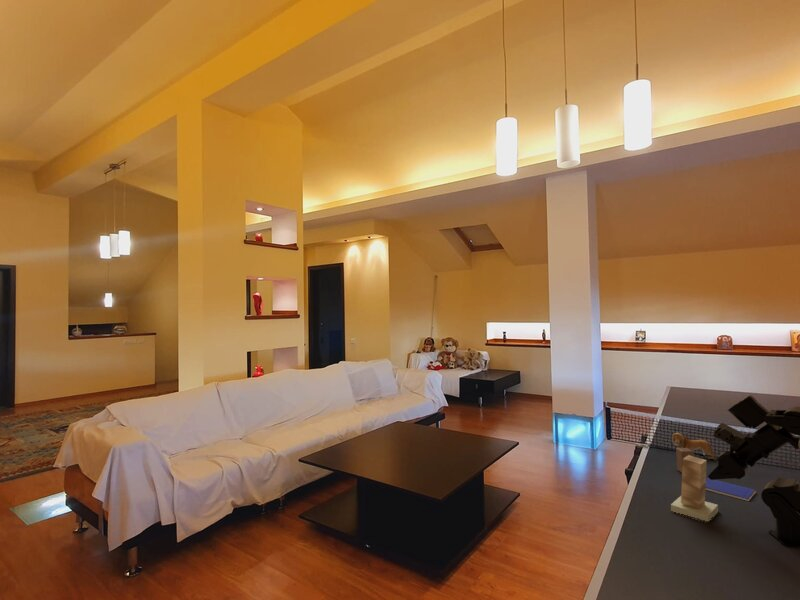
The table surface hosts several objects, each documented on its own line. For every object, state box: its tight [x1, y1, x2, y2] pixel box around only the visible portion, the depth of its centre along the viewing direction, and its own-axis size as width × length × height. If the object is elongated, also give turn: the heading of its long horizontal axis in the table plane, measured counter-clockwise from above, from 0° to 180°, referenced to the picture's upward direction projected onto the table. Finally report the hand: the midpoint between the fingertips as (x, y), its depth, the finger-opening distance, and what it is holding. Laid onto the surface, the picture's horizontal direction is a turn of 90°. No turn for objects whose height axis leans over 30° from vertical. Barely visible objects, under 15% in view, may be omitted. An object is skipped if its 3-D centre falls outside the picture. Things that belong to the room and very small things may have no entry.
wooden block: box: [675, 447, 695, 474], centre depth 148 cm, size 4×4×8 cm
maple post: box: [680, 455, 708, 510], centre depth 121 cm, size 4×4×13 cm
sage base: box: [670, 495, 719, 522], centre depth 122 cm, size 9×9×2 cm
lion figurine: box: [671, 432, 718, 460], centre depth 161 cm, size 15×5×9 cm, turn 73°
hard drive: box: [705, 477, 756, 502], centre depth 133 cm, size 2×8×12 cm
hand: (714, 473), depth 118 cm, fingers open, 9 cm apart
